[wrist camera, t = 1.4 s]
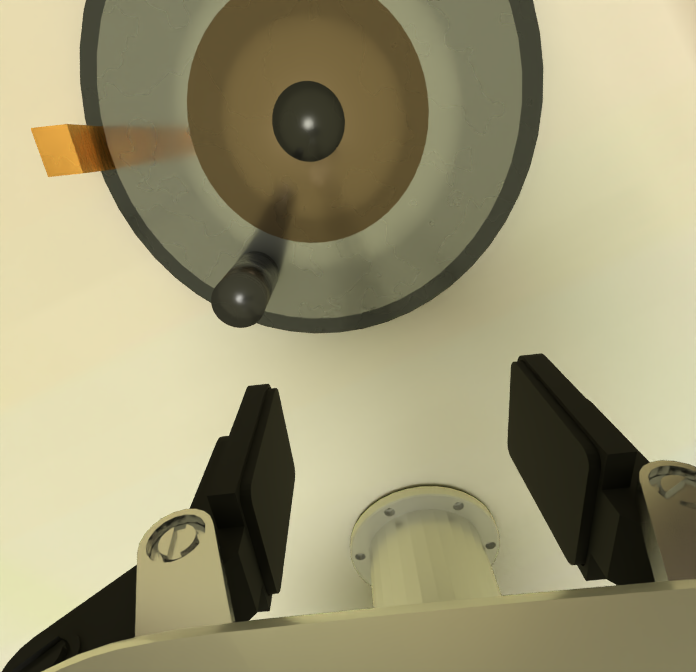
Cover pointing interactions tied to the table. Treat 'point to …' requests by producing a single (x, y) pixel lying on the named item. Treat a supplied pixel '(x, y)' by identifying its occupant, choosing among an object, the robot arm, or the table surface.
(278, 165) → the turntable
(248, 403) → the robot arm
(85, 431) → the table surface
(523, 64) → the base
